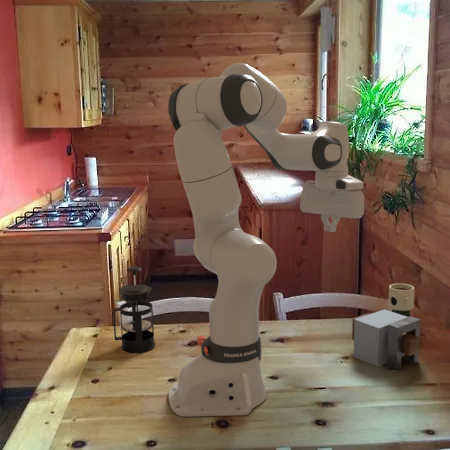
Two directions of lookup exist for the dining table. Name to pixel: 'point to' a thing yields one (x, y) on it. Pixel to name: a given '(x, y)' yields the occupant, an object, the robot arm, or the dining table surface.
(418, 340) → the shaft
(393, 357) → the block
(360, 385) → the dining table surface
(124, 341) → the french press
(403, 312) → the character mug
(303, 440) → the dining table surface
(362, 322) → the grey rectangular block
